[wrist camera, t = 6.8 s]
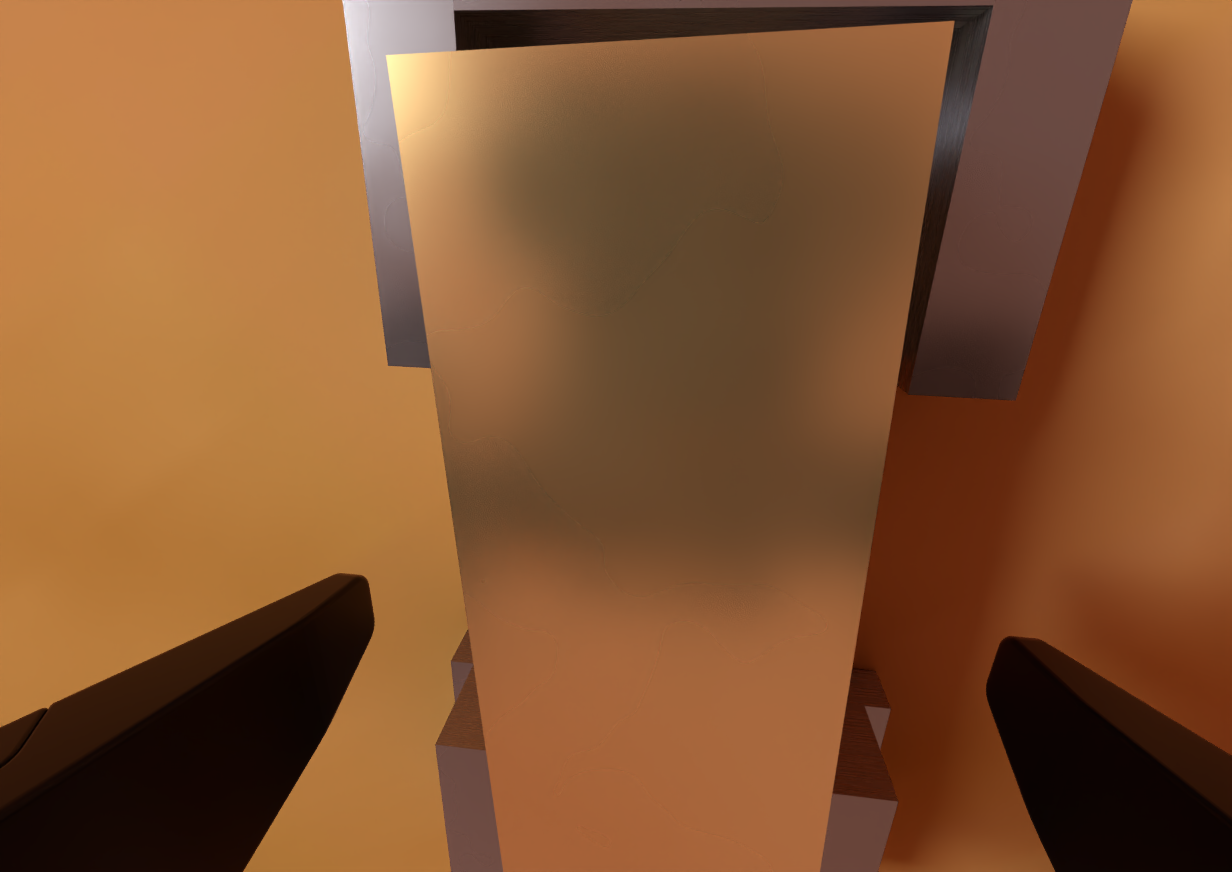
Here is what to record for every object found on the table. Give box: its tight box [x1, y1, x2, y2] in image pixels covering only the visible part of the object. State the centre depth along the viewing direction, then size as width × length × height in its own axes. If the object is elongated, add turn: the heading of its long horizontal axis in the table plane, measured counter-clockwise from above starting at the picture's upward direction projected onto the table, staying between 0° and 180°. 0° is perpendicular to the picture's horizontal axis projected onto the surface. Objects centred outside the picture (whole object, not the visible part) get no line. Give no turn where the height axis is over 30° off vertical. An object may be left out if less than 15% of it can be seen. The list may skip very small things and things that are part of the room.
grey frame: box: [343, 0, 1132, 872], centre depth 10 cm, size 17×9×3 cm, turn 179°
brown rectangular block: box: [386, 21, 955, 872], centre depth 8 cm, size 13×4×5 cm, turn 1°
